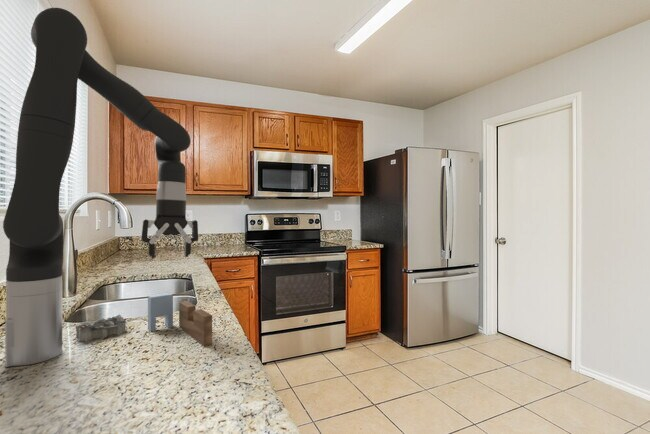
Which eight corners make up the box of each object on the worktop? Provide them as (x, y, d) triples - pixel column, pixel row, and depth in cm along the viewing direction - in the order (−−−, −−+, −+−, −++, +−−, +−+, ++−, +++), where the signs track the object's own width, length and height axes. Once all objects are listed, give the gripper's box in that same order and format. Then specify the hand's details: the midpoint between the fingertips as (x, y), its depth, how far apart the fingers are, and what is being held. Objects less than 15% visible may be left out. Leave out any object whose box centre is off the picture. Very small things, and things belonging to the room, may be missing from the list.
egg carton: (78, 344, 81) (77, 327, 81) (74, 336, 87) (74, 320, 87) (128, 333, 88) (128, 318, 88) (121, 326, 94) (121, 312, 94)
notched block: (150, 331, 89) (150, 297, 89) (147, 328, 92) (147, 295, 91) (172, 326, 93) (172, 294, 93) (169, 324, 95) (169, 292, 95)
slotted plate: (203, 346, 79) (203, 316, 79) (179, 327, 93) (179, 301, 93) (212, 344, 80) (212, 315, 80) (186, 325, 94) (186, 300, 94)
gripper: (143, 197, 87) (141, 259, 87) (200, 199, 94) (199, 257, 94) (141, 198, 93) (140, 256, 93) (195, 200, 101) (194, 254, 101)
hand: (170, 257), depth 94 cm, fingers open, 8 cm apart
